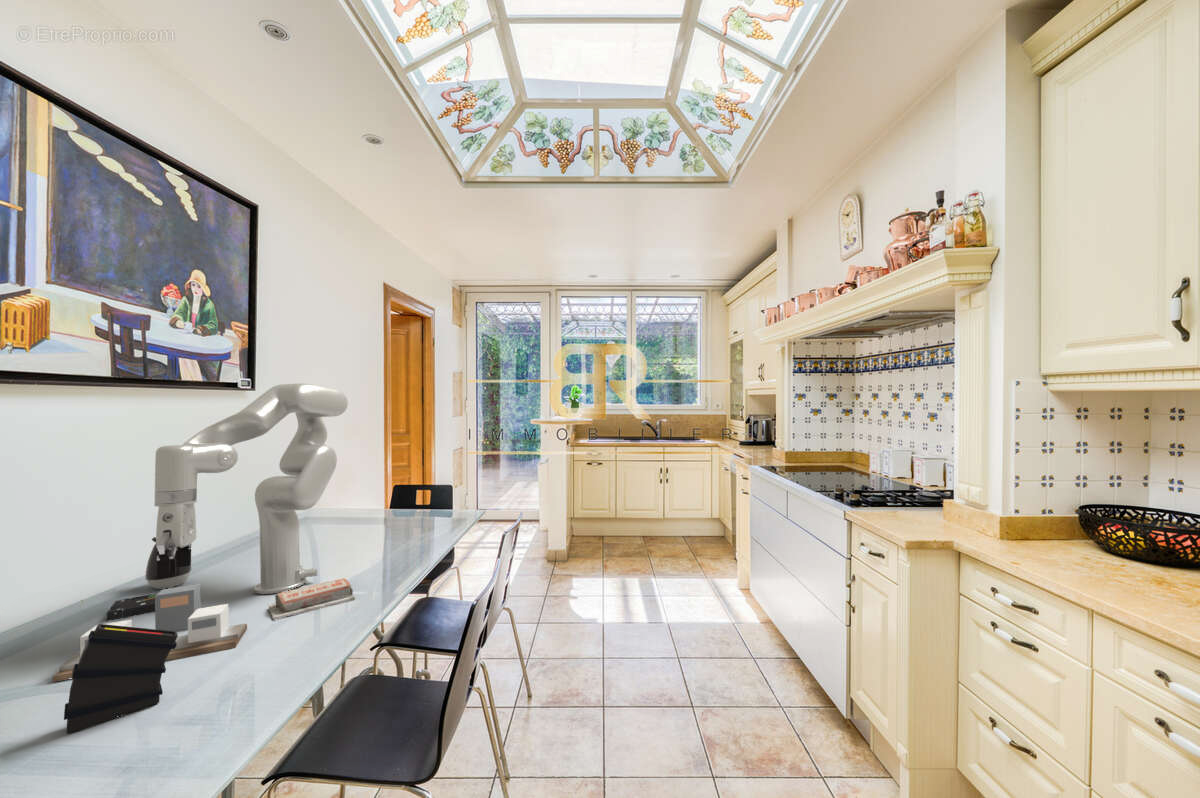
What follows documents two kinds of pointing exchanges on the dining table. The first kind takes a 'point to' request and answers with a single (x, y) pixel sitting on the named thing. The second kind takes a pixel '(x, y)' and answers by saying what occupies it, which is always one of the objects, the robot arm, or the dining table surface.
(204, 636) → the block
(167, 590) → the block
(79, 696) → the black ridged block
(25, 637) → the dining table surface
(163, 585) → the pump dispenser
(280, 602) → the packaged product
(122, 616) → the disk drive
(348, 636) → the dining table surface
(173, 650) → the rail board
